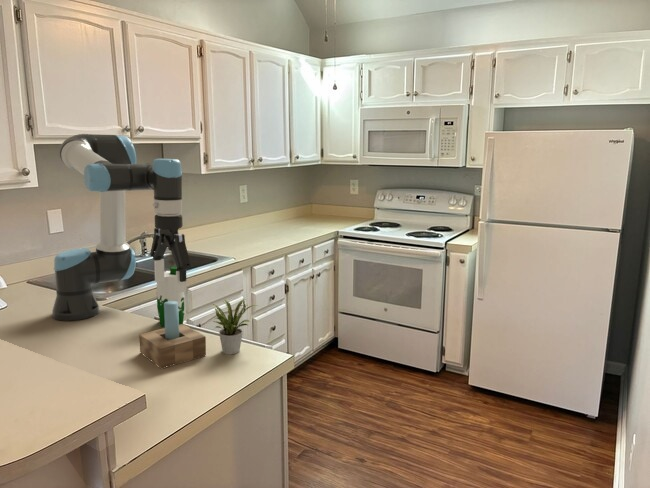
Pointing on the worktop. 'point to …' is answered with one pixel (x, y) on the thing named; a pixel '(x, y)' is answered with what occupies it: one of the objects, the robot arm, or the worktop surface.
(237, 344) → the house plant
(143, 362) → the worktop surface
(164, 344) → the socket block
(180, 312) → the milk carton
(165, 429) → the worktop surface
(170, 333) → the peg
